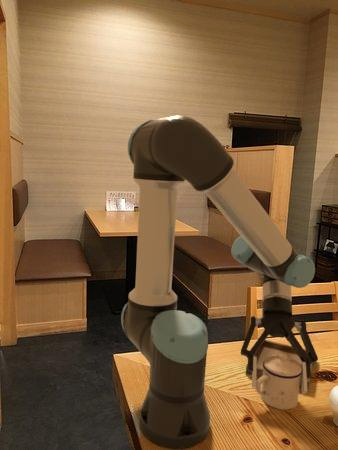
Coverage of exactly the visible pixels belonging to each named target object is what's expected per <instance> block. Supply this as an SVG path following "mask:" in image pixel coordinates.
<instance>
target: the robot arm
mask: <svg viewBox="0 0 338 450" xmlns="http://www.w3.org/2000/svg"><path fill="white" fill-rule="evenodd" d="M127 141H128V142H127V153H128V157H129V160H130V161H131V163H132V164H133V179H132V180H133V181H134V182H135V183H136V184H137V185H138V187H139V197H138V221H137V222H138V223H137V242H136V267H135V269H136V270H135V285H134V286H135V287H134V288H133V289H132V290H131V291H129V293H128V297H127V298H128V300H127V303H126V304H124V306H123V308H122V311H121V317H120V320H121V321H120V322H121V327H122V329H123V332H124V334H125V336H126V337H127V339H128V340H129V341H130V342H131V343H132V344H133V345H134V346H135V347H136V349H138V351H139V353H141V354H142V355H143V357H144V358H145V359H146V360H147V362H148V363H149V383H148V384H149V385H148V390H147V393H146V395H145V398H144V400H143V403H142V405H141V408H140V410H139V411H140V412H139V427H140V430H141V431H140V432H142V434H143V435H144V436H145V438H147V439H148V440H149V441H150V442H152V443H153V444H156V445H158V446H160V447H163V448H168V449H187V448H191V447H193V446H196V445H198V444H200V443H201V442H203V440H204V439H206V438H207V436H208V434H209V433H210V425H211V413H210V410H209V407H208V404H207V400H206V395H205V382H206V367H207V355H208V348H209V341H208V339H209V338H208V329H207V326H206V324H205V322H203V320H202V319H201V318H199V317H198V316H196V314H193V313H190V312H189V313H186V311H183V310H177V309H178V295H177V294H176V293H175V292H174V290H173V289H172V283H173V269H174V267H173V266H174V253H175V251H174V250H175V238H176V219H177V206H178V205H177V204H178V190H179V189H180V187H181V186H183V184H185V182H187V183H189V184H190V186H192V188H193V189H194V190H195V191H197V192H199V193H204V194H205V195H206V197H207V198H209V200H210V201H211V203H212V204H213V205H214V206H215V207H216V209H217V210H219V212H220V213H221V214H222V215H223V216H224V218H225V219H226V220H227V221H228V223H229V224H230V225H231V226H232V227H233V228H234V229H235V231H236V232H237V233H238V235H240V236H238V237H237V238H235V240H234V242H233V244H232V246H231V249H230V250H231V253H230V254H231V256H232V257H233V259H235V260H236V261H237V263H239V264H241V265H243V266H244V267H247V268H248V269H250V270H251V271H253V272H255V273H256V274H257V275H259V276H261V277H262V279H261V280H262V281H261V282H262V284H261V285H262V287H261V288H262V298H261V299H262V307H261V309H262V311H261V312H262V314H261V318H259V317H256V316H254V315H253V316H251V317H250V320H249V327H248V328H249V329H248V331H247V333H246V335H245V339H244V341H243V344H242V346H241V349H240V355H241V356H244V357H246V358H247V363H248V372H252V376H251V388H255V389H256V382H257V377H256V369H257V357H254V355H255V353H256V352H257V351H258V349H259V348H260V346H261V345H262V343H263V342H264V341H265V340H267V339H268V337H269V336H270V337H271V338H273V337H278V338H283V339H284V338H285V339H286V341H287V342H288V343H289V344H290V346H292V347H293V349H294V350H295V352H296V353H297V355H298V356H299V358H300V359H301V361H302V363H301V365H300V366H301V368H302V374H301V389H302V390H301V389H300V390H301V394H302V395H306V394H307V393H308V392H309V389H308V390H307V379H309V378H310V377H311V378H312V372H311V369H310V364H312V363H313V365H314V364H316V363H317V361H318V360H319V357H318V355H317V352H316V351H315V347H314V345H313V343H312V340H311V338H310V336H309V334H308V330H307V322H306V321H304V320H303V321H301V322H297V321H295V320H294V318H293V304H292V301H293V300H292V287H294V288H297V289H302V288H305V287H307V286H308V285H309V284H310V283H311V281H312V280H313V279H314V277H315V273H316V267H315V263H314V261H313V259H311V258H310V257H307V256H306V255H304V254H301V253H300V254H299V253H298V252H297V251H296V250H295V248H294V247H293V246H292V245H291V243H290V242H289V240H288V239H287V238H286V236H285V235H284V234H283V232H282V231H281V230H280V229H279V227H278V226H277V224H276V223H275V222H274V221H273V219H272V218H271V217H270V216H269V214H268V212H267V211H266V210H265V208H263V206H262V204H261V203H260V202H259V201H258V200H257V198H256V197H255V195H254V194H253V193H252V192H251V190H250V189H249V187H248V185H247V184H245V182H244V181H243V179H242V178H241V177H240V175H239V174H238V173H237V172H236V170H235V168H234V167H235V160H234V158H232V156H231V155H230V153H229V152H228V151H227V149H226V148H225V147H224V145H223V144H222V143H221V141H220V140H218V139H217V137H216V136H215V135H214V134H213V133H212V132H211V131H210V130H209V129H208V128H207V127H206V126H204V125H203V124H202V123H201V122H199V121H197V120H196V119H194V118H191V117H190V116H185V115H172V116H169V117H160V118H152V119H149V120H147V121H144V122H143V123H140V124H139V125H138V126H136V128H134V130H133V131H132V133H130V136H129V138H128V140H127ZM260 324H261V327H262V328H263V329H264V330H263V332H262V333H261V335H260V336H259V337H258V339H257V340H256V341H255V343H254V344H253V346H252V347H251V348H250V350H248V347H249V345H250V343H251V340H252V337H253V334H254V331H255V329H256V328H257V327H258V326H259V325H260ZM294 328H295V329H296V331H297V332H299V335H300V339H301V341H302V343H303V346H304V348H303V347H302V345H301V344H300V342H299V341H298V339H297V338H296V336H295V334H294V332H293V329H294ZM304 349H306V351H307V354H308V355H307V354H306V352H305V351H304ZM308 356H309V357H308ZM311 378H310V379H311Z"/></svg>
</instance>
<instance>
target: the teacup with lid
mask: <svg viewBox="0 0 338 450" xmlns="http://www.w3.org/2000/svg"><path fill="white" fill-rule="evenodd" d="M301 374H302V368H301V366H300V364H299V363H298V362H297V361H295V360H294V359H292V358H289V357H288V356H287V355H286V354H285V353H280V354H279V355H272V356H268V357H267V358H265V359H264V361H263V376H261V377H260V378H258V379H256V387H255V391H256V393H257V394H258V395H259V396H260V397H261V399H262V401H264V403H265V404H267V405H268V406H270V407H272V408H275V409H278V410H291V409H294V408H296V407H297V405H298V402H299V394H300V389H299V385H300V376H301Z"/></svg>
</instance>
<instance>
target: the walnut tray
mask: <svg viewBox="0 0 338 450" xmlns="http://www.w3.org/2000/svg"><path fill="white" fill-rule="evenodd" d="M303 349H304V351H305V352H306V354H307V351H306V349H305V348H303ZM280 353H285V354H286V355H287V356H288V357H289V358H292V359H294V360H295V361H297V362H298V363H299V364H300V365H301V363H302V361H301V359H300V358H299V356H298V355H297V353H296V352H295V350H294V349H293V347H292V346H291V345H289V344H284V343H281V342H277V341H273V340H267V339H265V341H264V342H263V343H262V345H261V346H260V348H259V349H258V351H257V352H256V353H255V355H254V357H257V369H256V378H258V379H259V378H260V377H261V376H263V361H264V359H265V358H267V357H268V356H272V355H279V354H280ZM307 355H308V354H307ZM308 357H309V356H308ZM313 365H314V364H313V363H312V364H310V369H311V373H312V371H313ZM245 367H246V368H245V375H248V376H251V377H252V372H248V362H247V364H246V366H245ZM311 378H312V376H311V377H310V378H309V379H307V390H308V391H309V389H310V382H311ZM299 390H301V391H302V389H301V376H300V385H299Z"/></svg>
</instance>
